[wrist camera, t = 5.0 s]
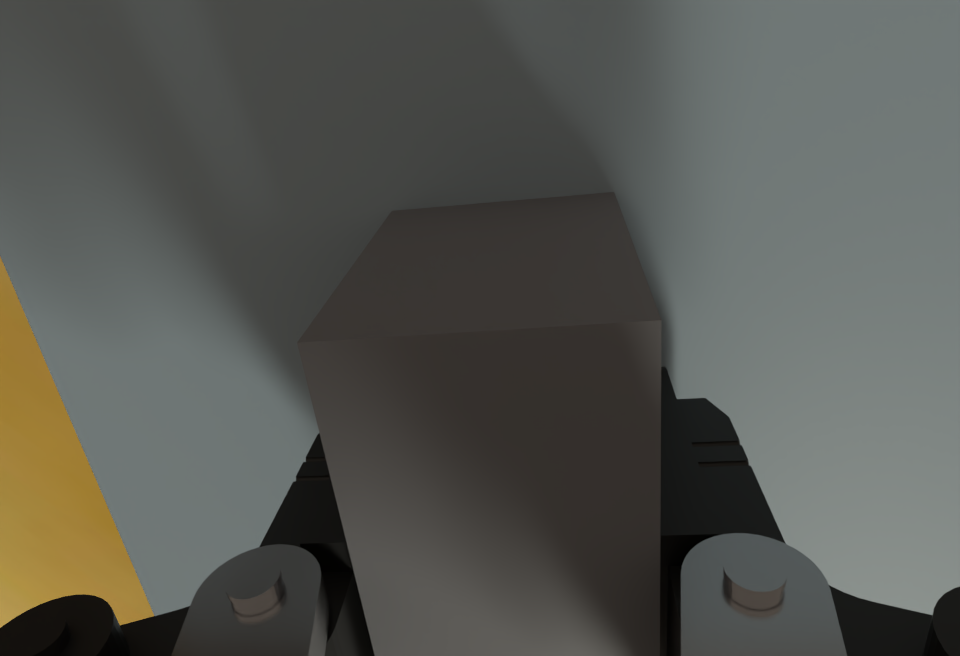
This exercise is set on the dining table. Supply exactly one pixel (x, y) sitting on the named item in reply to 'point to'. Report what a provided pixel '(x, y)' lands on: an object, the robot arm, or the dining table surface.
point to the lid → (495, 286)
